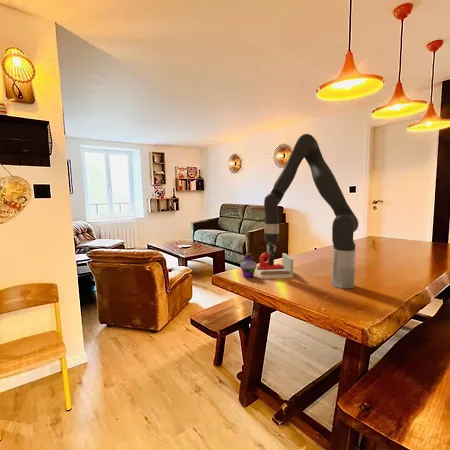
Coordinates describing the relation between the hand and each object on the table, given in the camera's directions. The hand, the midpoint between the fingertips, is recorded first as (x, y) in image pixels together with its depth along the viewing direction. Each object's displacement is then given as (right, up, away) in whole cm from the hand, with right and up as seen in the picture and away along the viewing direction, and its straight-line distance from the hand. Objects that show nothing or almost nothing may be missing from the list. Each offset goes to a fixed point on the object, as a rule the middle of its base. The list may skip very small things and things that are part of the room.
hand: (271, 264), depth 151 cm
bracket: (0, -2, -2) cm, 2 cm away
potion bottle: (-12, -6, -3) cm, 14 cm away
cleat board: (+1, -5, 0) cm, 5 cm away
